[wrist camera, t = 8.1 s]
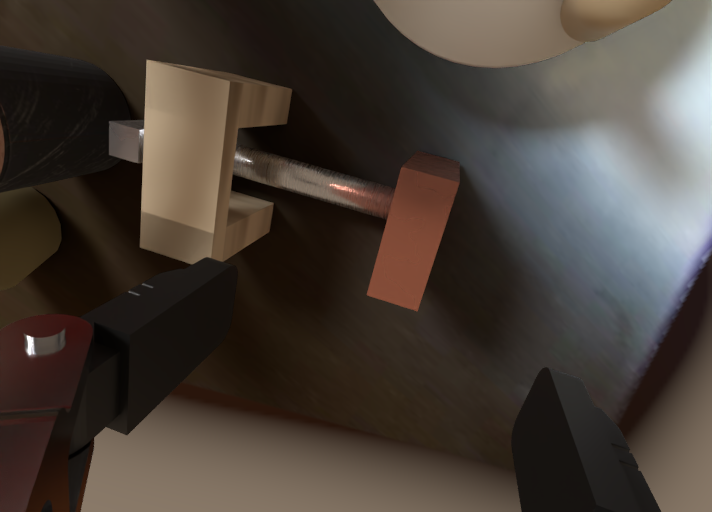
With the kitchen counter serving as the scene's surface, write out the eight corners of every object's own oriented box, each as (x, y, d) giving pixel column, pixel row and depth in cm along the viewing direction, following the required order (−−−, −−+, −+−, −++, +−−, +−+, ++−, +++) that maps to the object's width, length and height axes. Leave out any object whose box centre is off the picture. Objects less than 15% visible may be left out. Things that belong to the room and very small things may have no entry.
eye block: (214, 215, 28) (139, 247, 22) (229, 73, 25) (146, 59, 18) (269, 231, 28) (209, 270, 21) (292, 89, 24) (230, 81, 18)
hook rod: (163, 179, 28) (70, 200, 21) (168, 84, 26) (66, 75, 19) (428, 258, 25) (417, 311, 19) (459, 161, 23) (459, 182, 17)
